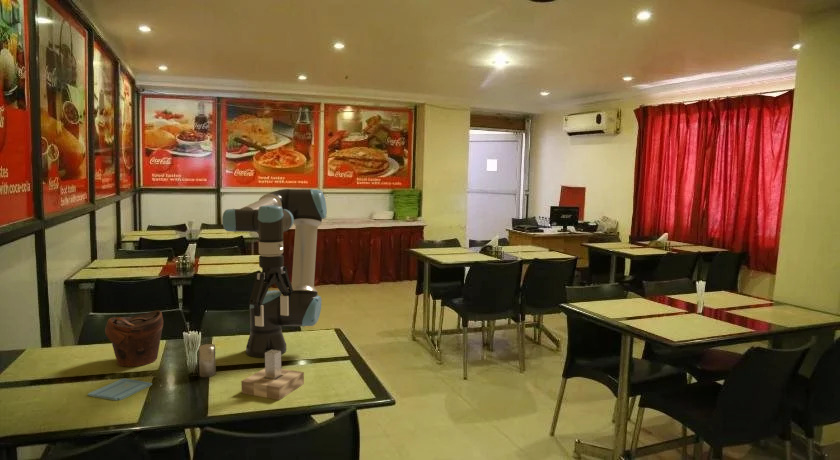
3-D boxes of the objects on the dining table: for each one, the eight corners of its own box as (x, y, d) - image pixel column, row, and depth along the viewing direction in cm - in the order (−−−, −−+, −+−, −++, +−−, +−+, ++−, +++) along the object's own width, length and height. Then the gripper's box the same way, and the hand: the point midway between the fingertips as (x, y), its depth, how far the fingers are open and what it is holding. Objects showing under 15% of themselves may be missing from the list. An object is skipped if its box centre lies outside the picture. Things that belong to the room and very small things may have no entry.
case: (93, 366, 196) (92, 317, 194) (140, 350, 215) (139, 304, 213) (131, 374, 190) (130, 323, 188) (175, 356, 208) (175, 310, 206)
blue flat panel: (118, 402, 168) (118, 398, 168) (87, 397, 171) (87, 393, 171) (152, 386, 181) (152, 382, 180) (123, 381, 184) (123, 377, 184)
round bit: (206, 371, 193) (206, 343, 192) (219, 373, 192) (218, 345, 191) (196, 376, 188) (195, 347, 187) (208, 378, 187) (207, 349, 186)
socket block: (268, 377, 188) (267, 366, 187) (303, 383, 183) (303, 372, 182) (241, 393, 175) (241, 381, 174) (279, 400, 170) (279, 387, 169)
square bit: (272, 385, 181) (271, 349, 180) (281, 386, 180) (281, 350, 178) (265, 389, 178) (264, 352, 176) (275, 390, 176) (274, 354, 175)
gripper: (256, 261, 161) (258, 332, 163) (303, 250, 184) (303, 312, 187) (235, 259, 164) (237, 329, 166) (283, 248, 187) (284, 310, 189)
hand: (272, 320), depth 176 cm, fingers open, 13 cm apart
